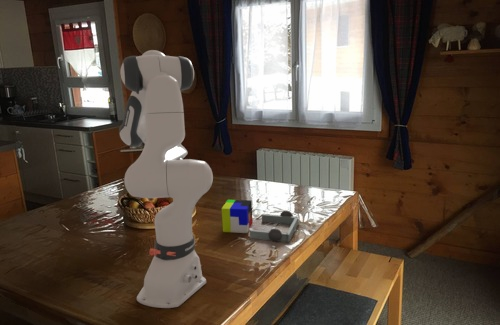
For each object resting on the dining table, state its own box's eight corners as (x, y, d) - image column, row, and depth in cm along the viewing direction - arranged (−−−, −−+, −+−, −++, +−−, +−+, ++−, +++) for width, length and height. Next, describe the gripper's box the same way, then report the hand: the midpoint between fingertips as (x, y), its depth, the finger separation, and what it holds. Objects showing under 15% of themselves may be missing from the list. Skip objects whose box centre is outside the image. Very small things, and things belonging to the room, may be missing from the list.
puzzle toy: (247, 233, 167) (246, 209, 165) (222, 232, 169) (221, 208, 167) (252, 223, 177) (251, 200, 174) (229, 222, 179) (227, 199, 176)
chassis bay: (288, 243, 157) (288, 230, 156) (249, 239, 161) (248, 227, 160) (299, 222, 175) (298, 211, 173) (263, 219, 179) (263, 208, 178)
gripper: (151, 145, 163) (176, 171, 163) (175, 135, 182) (198, 158, 181) (142, 156, 166) (166, 181, 165) (167, 144, 184) (189, 167, 184)
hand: (183, 169), depth 174 cm, fingers closed
